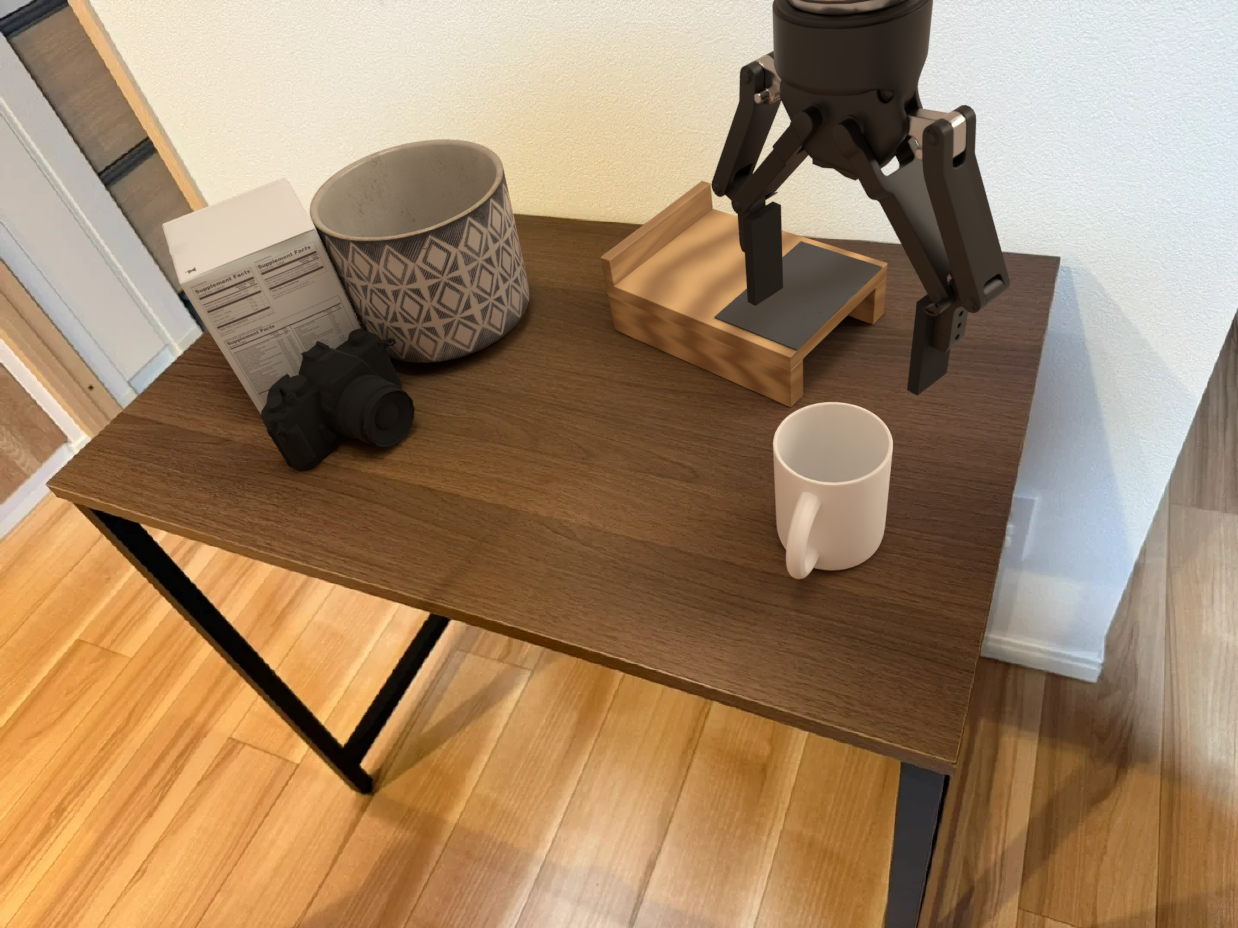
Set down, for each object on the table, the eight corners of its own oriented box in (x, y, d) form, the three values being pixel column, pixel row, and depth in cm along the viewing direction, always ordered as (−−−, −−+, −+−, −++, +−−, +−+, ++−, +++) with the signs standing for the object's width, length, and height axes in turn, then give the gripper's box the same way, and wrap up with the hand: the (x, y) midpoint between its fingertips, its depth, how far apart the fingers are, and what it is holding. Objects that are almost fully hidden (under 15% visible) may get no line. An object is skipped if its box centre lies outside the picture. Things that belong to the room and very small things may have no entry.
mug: (845, 628, 63) (849, 540, 56) (740, 589, 67) (731, 502, 59) (898, 510, 70) (909, 417, 62) (800, 481, 73) (799, 390, 66)
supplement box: (383, 371, 93) (317, 227, 80) (264, 424, 90) (176, 283, 77) (351, 312, 102) (286, 174, 89) (241, 358, 99) (158, 222, 86)
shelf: (883, 314, 86) (890, 235, 80) (791, 408, 79) (789, 329, 73) (708, 253, 98) (701, 180, 92) (614, 330, 91) (600, 257, 85)
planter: (380, 400, 89) (319, 262, 77) (356, 302, 102) (301, 172, 90) (558, 342, 92) (525, 200, 80) (512, 254, 105) (478, 121, 93)
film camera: (340, 499, 80) (300, 430, 74) (277, 463, 85) (234, 396, 79) (452, 399, 88) (424, 328, 81) (388, 371, 93) (357, 302, 86)
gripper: (628, -31, 48) (672, 288, 63) (1041, 74, 33) (967, 462, 48) (729, -75, 50) (747, 242, 66) (1156, 2, 35) (1051, 392, 50)
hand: (840, 335), depth 57 cm, fingers open, 13 cm apart
